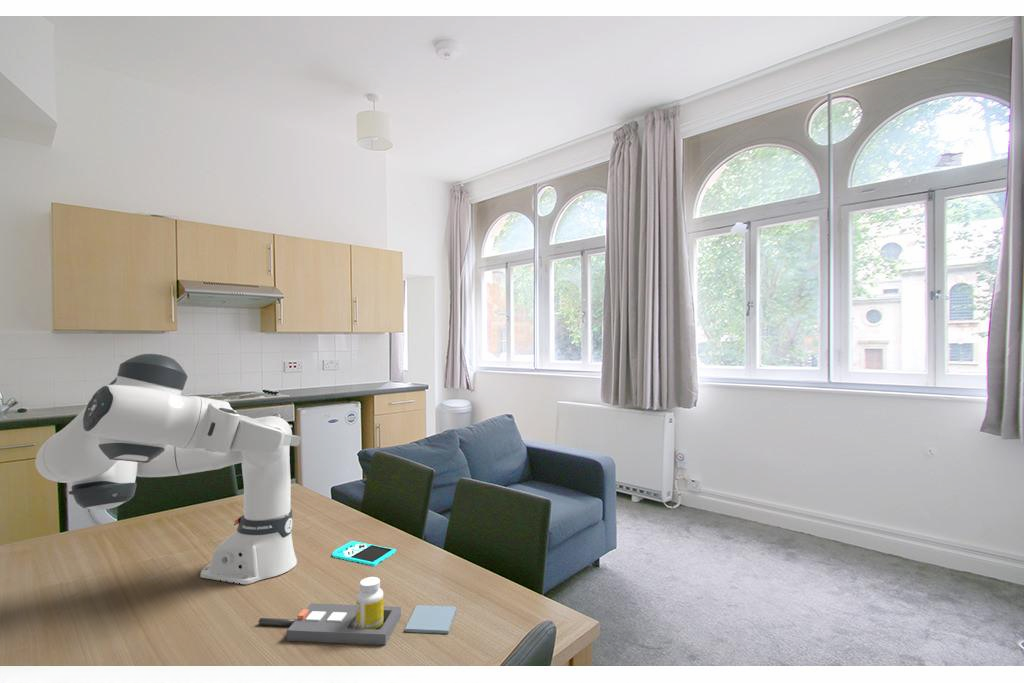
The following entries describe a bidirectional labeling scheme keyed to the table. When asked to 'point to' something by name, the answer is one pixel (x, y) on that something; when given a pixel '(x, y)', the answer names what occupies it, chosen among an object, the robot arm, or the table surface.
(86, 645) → the table surface
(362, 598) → the supplement bottle
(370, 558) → the handheld game console
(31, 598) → the table surface
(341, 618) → the power strip
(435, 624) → the rubber mat
